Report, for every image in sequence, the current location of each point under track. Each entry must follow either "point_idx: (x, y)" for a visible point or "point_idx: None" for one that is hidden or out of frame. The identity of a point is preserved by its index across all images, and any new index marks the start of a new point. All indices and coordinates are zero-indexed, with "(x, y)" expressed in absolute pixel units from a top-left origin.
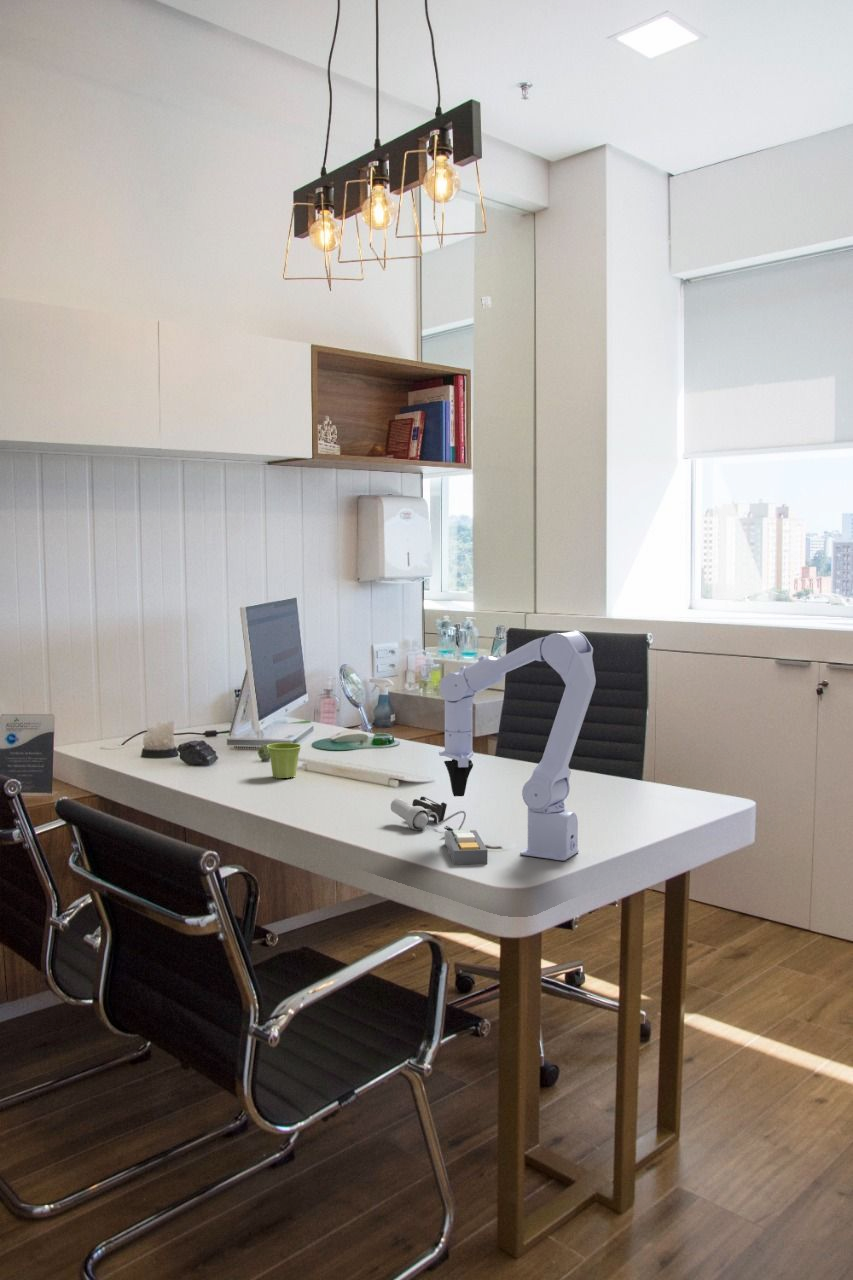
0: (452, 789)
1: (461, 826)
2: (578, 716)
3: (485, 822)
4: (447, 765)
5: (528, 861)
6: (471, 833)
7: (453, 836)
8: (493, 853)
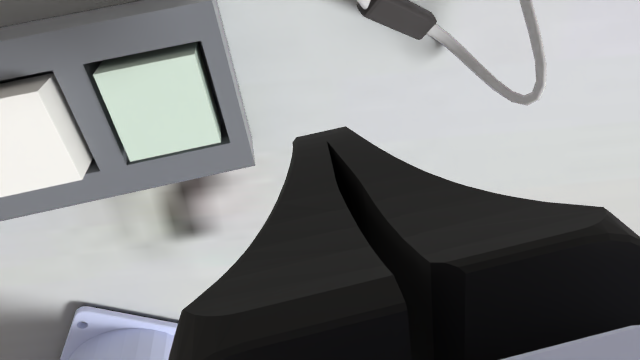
0: (294, 156)
1: (465, 64)
2: None
3: (592, 145)
4: (181, 349)
5: (6, 333)
6: (62, 175)
7: (158, 53)
8: (84, 218)
